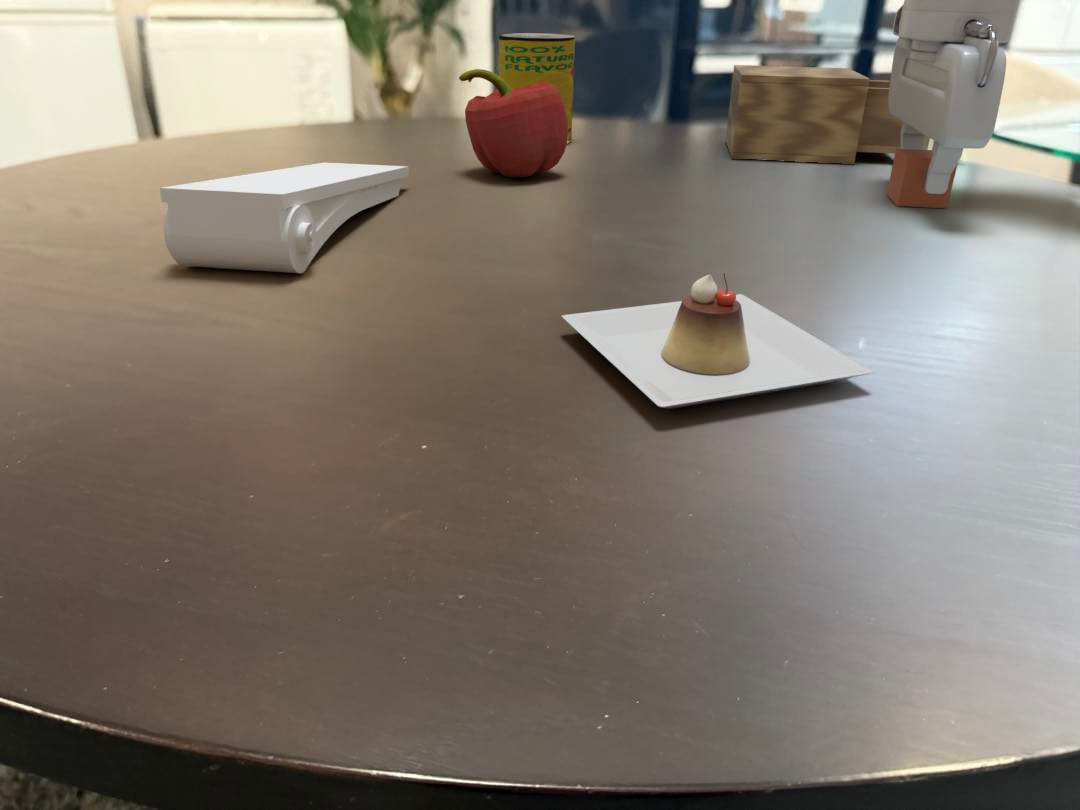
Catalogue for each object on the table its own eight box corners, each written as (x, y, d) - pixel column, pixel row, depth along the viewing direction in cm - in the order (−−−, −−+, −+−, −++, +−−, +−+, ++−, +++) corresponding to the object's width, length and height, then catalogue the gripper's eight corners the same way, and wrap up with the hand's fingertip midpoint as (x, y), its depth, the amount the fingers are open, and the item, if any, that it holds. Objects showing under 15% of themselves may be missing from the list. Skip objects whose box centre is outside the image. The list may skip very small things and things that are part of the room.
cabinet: (835, 146, 104) (849, 68, 100) (854, 164, 94) (870, 78, 90) (725, 141, 106) (734, 64, 102) (731, 159, 96) (741, 74, 91)
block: (933, 197, 80) (944, 150, 78) (947, 208, 76) (958, 159, 74) (886, 195, 81) (895, 148, 79) (897, 206, 77) (907, 157, 75)
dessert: (870, 391, 42) (891, 301, 40) (657, 428, 38) (666, 330, 36) (739, 310, 52) (749, 234, 50) (560, 333, 48) (562, 252, 46)
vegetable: (449, 181, 82) (446, 73, 78) (473, 161, 92) (471, 63, 87) (558, 187, 81) (561, 77, 76) (572, 166, 90) (575, 67, 86)
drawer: (938, 144, 102) (952, 80, 99) (964, 160, 93) (981, 90, 89) (798, 138, 104) (807, 75, 101) (810, 153, 95) (822, 85, 91)
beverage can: (579, 146, 101) (584, 38, 96) (506, 147, 99) (507, 37, 94) (561, 133, 109) (564, 33, 103) (493, 135, 107) (492, 32, 102)
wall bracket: (330, 241, 82) (175, 302, 56) (308, 166, 80) (137, 193, 54) (426, 221, 80) (312, 274, 54) (406, 143, 78) (278, 159, 52)
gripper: (1044, 25, 62) (994, 210, 68) (959, 14, 80) (925, 162, 86) (955, 22, 63) (914, 206, 69) (890, 13, 81) (862, 159, 87)
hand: (920, 181), depth 78 cm, fingers open, 7 cm apart
